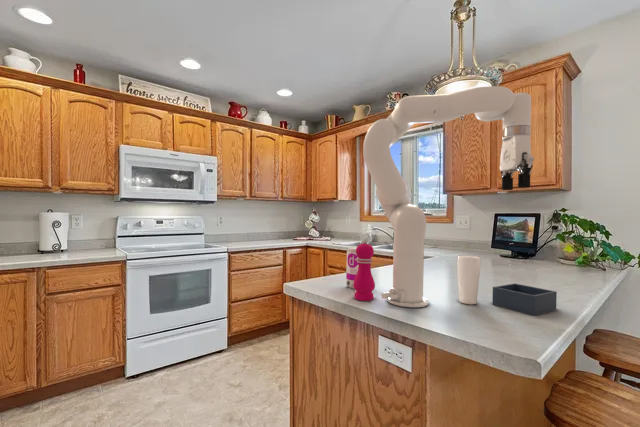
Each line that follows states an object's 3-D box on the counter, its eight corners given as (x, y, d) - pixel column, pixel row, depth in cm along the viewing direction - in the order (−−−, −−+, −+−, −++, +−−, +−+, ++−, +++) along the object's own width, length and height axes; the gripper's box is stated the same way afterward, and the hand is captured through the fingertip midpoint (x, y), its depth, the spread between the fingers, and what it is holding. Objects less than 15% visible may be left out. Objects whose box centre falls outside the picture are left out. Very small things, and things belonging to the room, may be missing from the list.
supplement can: (361, 290, 117) (362, 249, 117) (342, 287, 121) (343, 248, 121) (370, 286, 124) (371, 248, 124) (352, 283, 128) (352, 246, 128)
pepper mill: (360, 302, 101) (361, 240, 101) (349, 296, 108) (350, 238, 108) (379, 300, 104) (380, 239, 104) (367, 294, 110) (368, 237, 110)
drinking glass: (482, 306, 99) (483, 258, 99) (459, 304, 100) (460, 257, 100) (476, 300, 106) (477, 255, 106) (454, 299, 107) (455, 255, 107)
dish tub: (534, 315, 91) (535, 296, 91) (492, 304, 102) (492, 286, 102) (556, 309, 97) (556, 291, 97) (514, 299, 108) (514, 283, 108)
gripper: (491, 140, 108) (490, 190, 108) (518, 127, 91) (517, 186, 91) (514, 140, 107) (513, 190, 107) (546, 126, 90) (545, 186, 90)
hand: (515, 188), depth 99 cm, fingers open, 9 cm apart
